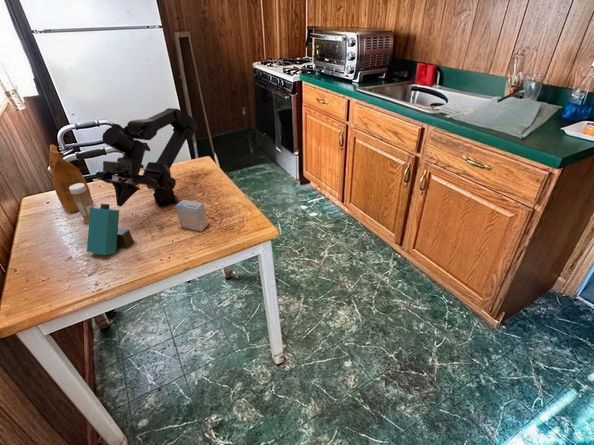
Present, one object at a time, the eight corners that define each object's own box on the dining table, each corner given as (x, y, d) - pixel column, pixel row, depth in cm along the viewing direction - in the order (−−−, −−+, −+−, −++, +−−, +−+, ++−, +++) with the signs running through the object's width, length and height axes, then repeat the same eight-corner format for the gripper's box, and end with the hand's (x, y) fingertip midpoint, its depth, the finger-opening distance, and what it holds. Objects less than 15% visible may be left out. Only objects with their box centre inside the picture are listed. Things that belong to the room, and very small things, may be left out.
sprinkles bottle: (100, 221, 113) (85, 186, 106) (85, 225, 111) (68, 190, 104) (98, 215, 116) (83, 181, 109) (83, 219, 114) (68, 185, 107)
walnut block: (107, 237, 105) (102, 224, 102) (134, 242, 103) (129, 229, 100) (100, 243, 103) (94, 230, 100) (127, 248, 100) (122, 234, 98)
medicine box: (208, 224, 110) (204, 202, 105) (201, 232, 107) (196, 209, 102) (188, 220, 112) (183, 198, 107) (180, 228, 109) (174, 205, 104)
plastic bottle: (113, 237, 105) (97, 199, 98) (130, 240, 104) (116, 202, 96) (89, 256, 97) (70, 217, 90) (107, 260, 96) (90, 220, 88)
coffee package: (89, 193, 130) (66, 139, 117) (97, 206, 122) (73, 149, 109) (60, 202, 124) (33, 146, 112) (67, 215, 116) (38, 157, 104)
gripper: (87, 145, 99) (72, 195, 96) (140, 150, 94) (126, 203, 92) (115, 159, 109) (102, 204, 107) (163, 165, 105) (151, 212, 102)
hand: (119, 206), depth 101 cm, fingers closed
